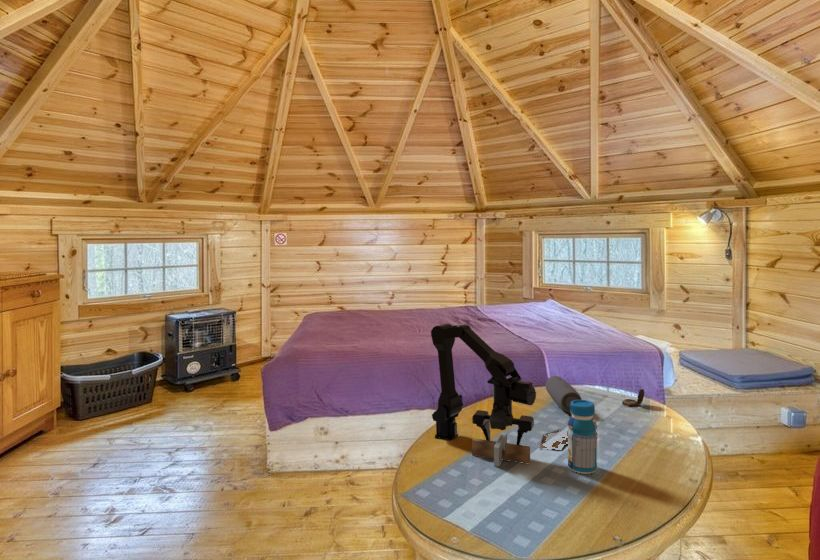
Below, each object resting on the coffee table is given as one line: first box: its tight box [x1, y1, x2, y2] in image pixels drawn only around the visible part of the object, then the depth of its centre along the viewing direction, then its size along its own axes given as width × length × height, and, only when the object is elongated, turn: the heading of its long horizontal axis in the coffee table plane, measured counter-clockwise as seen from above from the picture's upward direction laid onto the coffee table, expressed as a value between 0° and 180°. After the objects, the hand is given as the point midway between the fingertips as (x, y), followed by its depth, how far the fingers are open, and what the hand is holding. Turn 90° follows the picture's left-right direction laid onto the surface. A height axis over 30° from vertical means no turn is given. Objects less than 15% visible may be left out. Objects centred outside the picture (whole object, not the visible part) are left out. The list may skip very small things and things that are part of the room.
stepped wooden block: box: [471, 438, 531, 464], centre depth 150 cm, size 18×2×5 cm, turn 66°
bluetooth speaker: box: [544, 375, 583, 414], centre depth 196 cm, size 23×9×10 cm, turn 179°
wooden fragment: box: [538, 429, 568, 449], centre depth 165 cm, size 26×11×1 cm, turn 132°
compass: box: [621, 388, 645, 408], centre depth 195 cm, size 8×8×7 cm
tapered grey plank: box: [493, 431, 508, 467], centre depth 151 cm, size 2×12×6 cm, turn 156°
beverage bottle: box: [567, 399, 599, 475], centre depth 142 cm, size 8×8×20 cm
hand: (503, 446), depth 153 cm, fingers open, 9 cm apart
